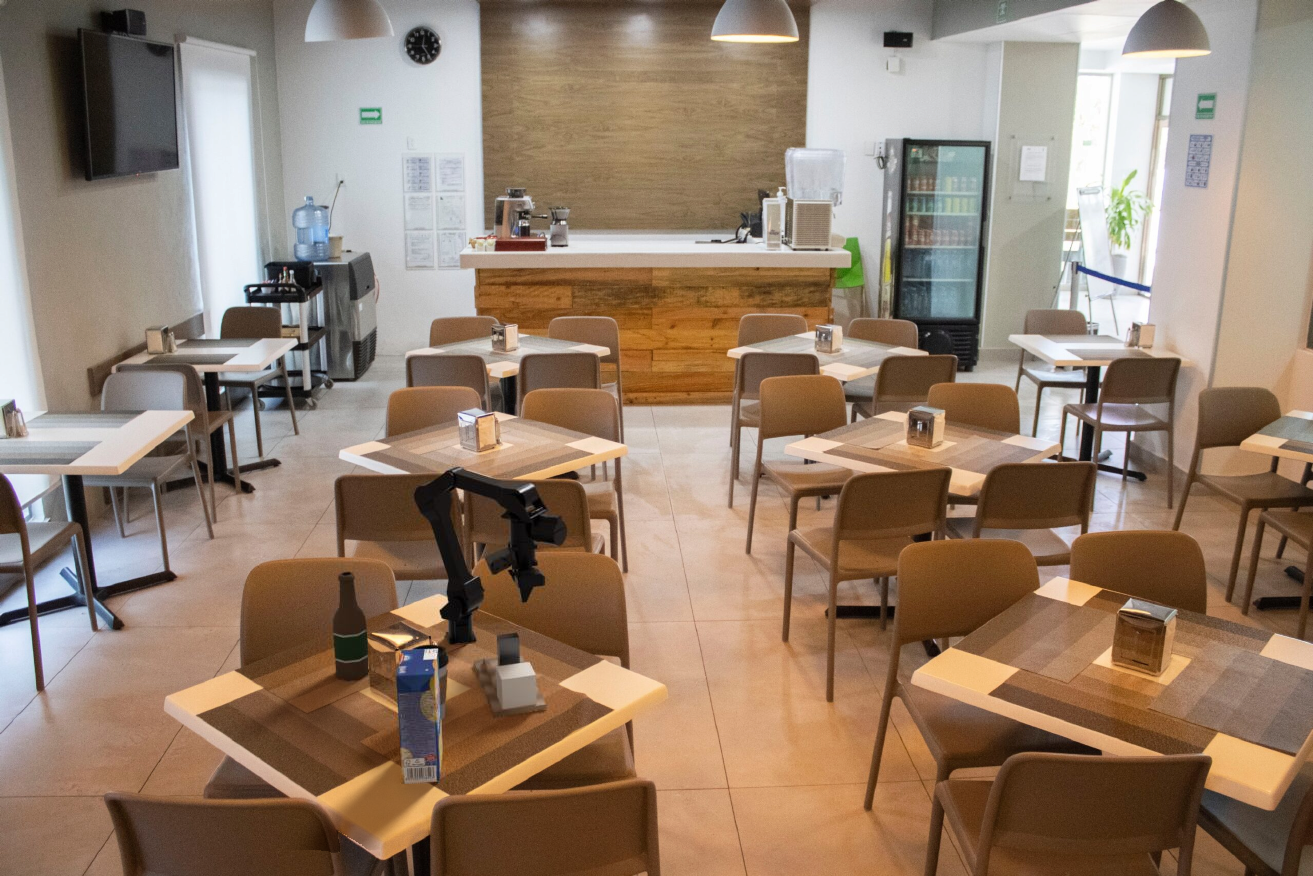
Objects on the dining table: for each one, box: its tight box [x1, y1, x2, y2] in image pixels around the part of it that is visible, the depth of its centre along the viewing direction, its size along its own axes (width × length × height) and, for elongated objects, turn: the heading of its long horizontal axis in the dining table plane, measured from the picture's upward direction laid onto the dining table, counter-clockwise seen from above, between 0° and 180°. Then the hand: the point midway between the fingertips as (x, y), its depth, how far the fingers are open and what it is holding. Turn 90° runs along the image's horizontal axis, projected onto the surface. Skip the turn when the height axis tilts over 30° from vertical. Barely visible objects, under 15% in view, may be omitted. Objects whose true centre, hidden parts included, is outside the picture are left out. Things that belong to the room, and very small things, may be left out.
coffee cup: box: [411, 644, 450, 721], centre depth 229 cm, size 8×8×15 cm
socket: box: [496, 661, 537, 709], centre depth 235 cm, size 6×7×7 cm
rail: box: [473, 653, 547, 718], centre depth 243 cm, size 25×11×3 cm, turn 19°
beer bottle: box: [332, 571, 370, 682], centre depth 246 cm, size 8×8×24 cm
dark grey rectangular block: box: [496, 632, 521, 666], centre depth 238 cm, size 10×4×11 cm, turn 19°
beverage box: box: [395, 648, 444, 785], centre depth 209 cm, size 7×11×22 cm, turn 7°
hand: (524, 602), depth 256 cm, fingers closed
